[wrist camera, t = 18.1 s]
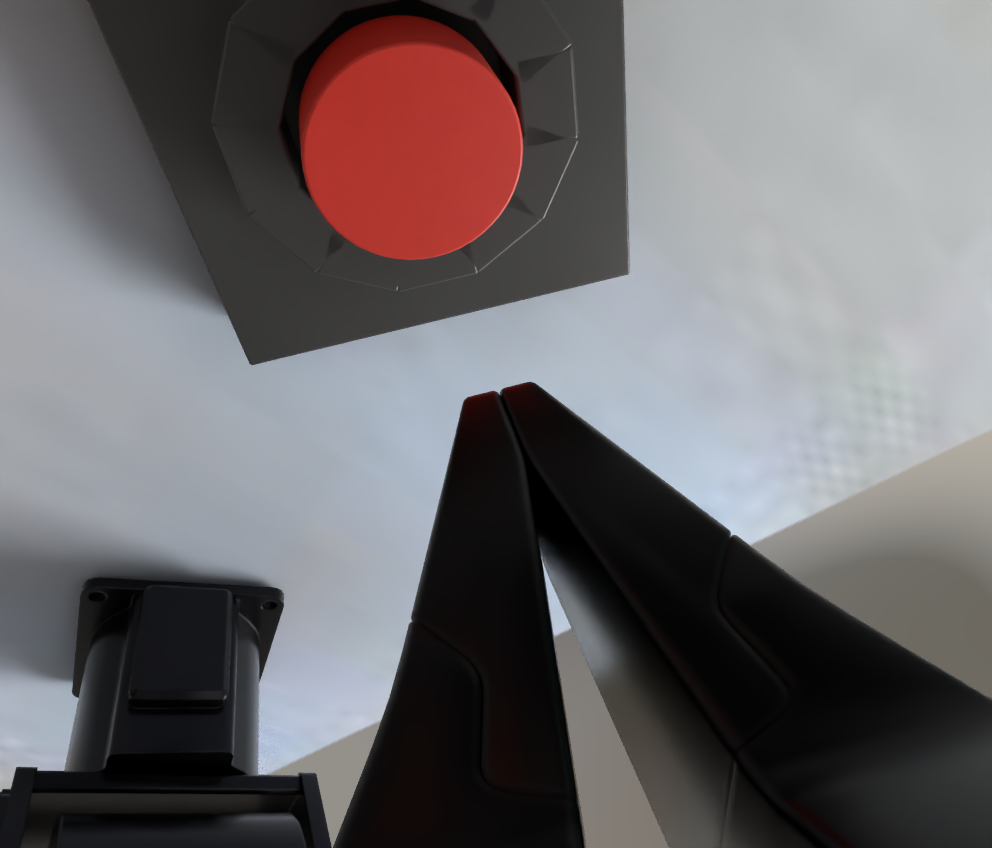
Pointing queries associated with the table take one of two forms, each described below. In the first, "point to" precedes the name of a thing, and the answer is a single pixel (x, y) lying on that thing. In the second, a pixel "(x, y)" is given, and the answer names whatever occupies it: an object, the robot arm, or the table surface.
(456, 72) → the button
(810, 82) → the table surface
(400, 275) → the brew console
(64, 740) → the table surface
